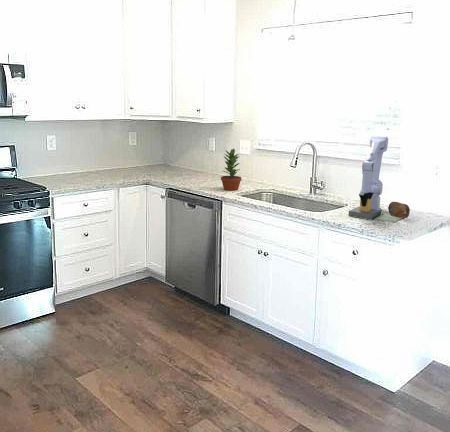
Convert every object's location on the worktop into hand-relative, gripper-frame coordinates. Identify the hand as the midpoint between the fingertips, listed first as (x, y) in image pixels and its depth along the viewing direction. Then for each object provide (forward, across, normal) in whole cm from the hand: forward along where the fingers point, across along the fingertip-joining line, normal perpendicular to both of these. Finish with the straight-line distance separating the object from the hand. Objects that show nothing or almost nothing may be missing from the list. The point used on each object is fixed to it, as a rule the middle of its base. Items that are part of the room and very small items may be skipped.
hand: (365, 205), depth 296 cm
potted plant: (+6, +11, +104) cm, 105 cm away
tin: (+6, +10, -16) cm, 20 cm away
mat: (+6, +1, -14) cm, 15 cm away
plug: (+4, 0, 0) cm, 4 cm away
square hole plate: (+6, 0, 0) cm, 6 cm away
